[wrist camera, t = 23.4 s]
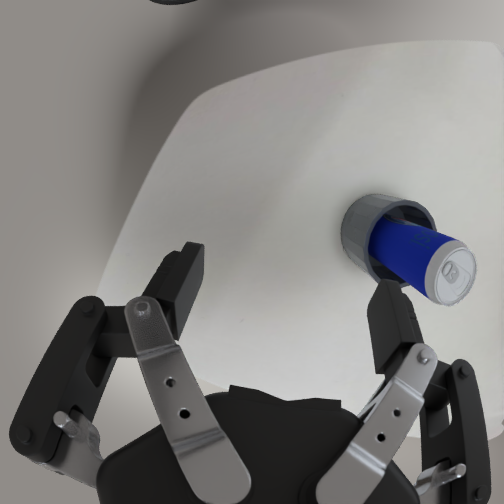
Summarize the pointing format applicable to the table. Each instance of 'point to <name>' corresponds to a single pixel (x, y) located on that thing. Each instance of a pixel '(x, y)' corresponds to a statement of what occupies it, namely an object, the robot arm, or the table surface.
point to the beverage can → (424, 259)
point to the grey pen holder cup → (363, 221)
